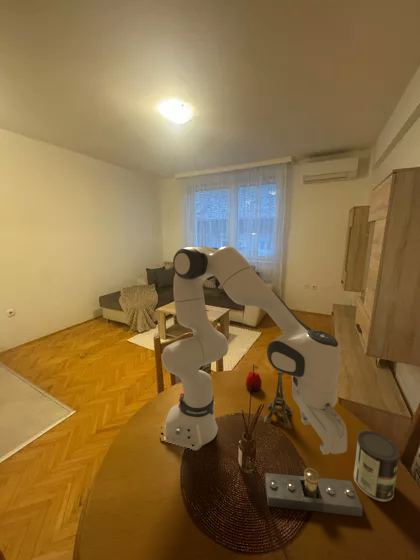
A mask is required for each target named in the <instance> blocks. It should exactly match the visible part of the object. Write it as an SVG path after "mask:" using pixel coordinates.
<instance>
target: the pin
mask: <svg viewBox="0 0 420 560" xmlns="http://www.w3.org/2000/svg"><path fill="white" fill-rule="evenodd" d="M303 476H304V477H305V488H303V489H304V490H303V494H304V497H308V498H317V495H318V494H317V483H318V482H319V478H320V474H319V472H318V471H317V470H316V469H314V468H311V467H307V468H304V472H303Z"/></svg>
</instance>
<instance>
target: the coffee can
mask: <svg viewBox="0 0 420 560" xmlns="http://www.w3.org/2000/svg"><path fill="white" fill-rule="evenodd" d="M356 439H357V443H356V452H355V463H354V470H353V480H354V482H355V484H356V485H357V487H358V488H359V490H361V491H362V492H363V493H364V494H365V495H366V496H368V497H369V498H371V499H373V500H375V501H378V502H391V500H392V499H393V498H394V495H395V488H396V481H397V474H398V467H399V460H400V458H401V452H400V449H399V447H398V446H397V445H396V443H395V442H394V441H393V440H392V439H391V438H390V437H387V436H386V435H384V434H383V433H380V432H377V431H374V430H368V429H367V430H361V431H360V432H359V433H358V434H357V436H356Z"/></svg>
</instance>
